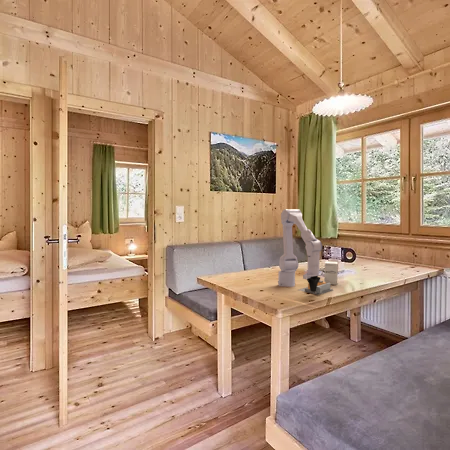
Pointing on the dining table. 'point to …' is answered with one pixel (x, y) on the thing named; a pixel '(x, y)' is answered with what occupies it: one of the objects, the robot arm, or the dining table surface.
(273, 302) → the dining table surface
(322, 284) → the orange knob block
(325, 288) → the cover bar
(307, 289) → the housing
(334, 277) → the supplement box
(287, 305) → the dining table surface
